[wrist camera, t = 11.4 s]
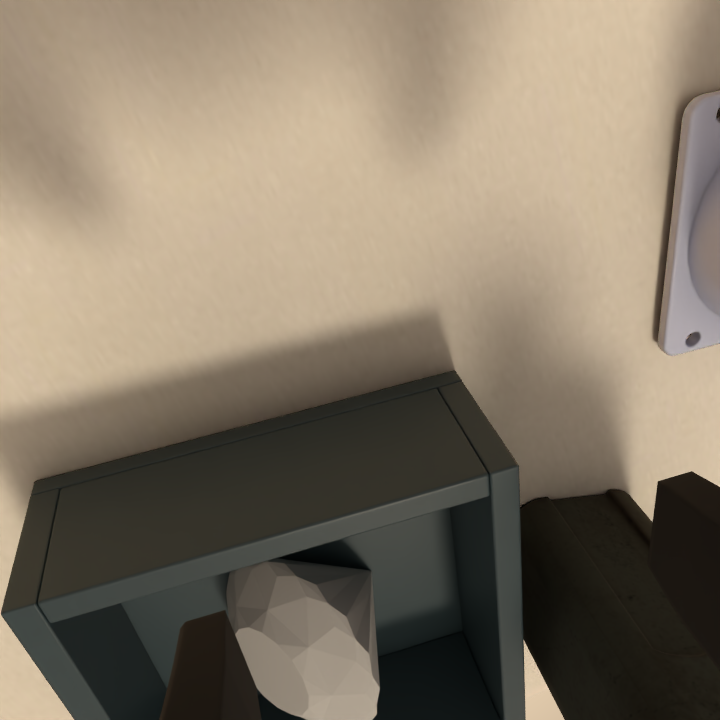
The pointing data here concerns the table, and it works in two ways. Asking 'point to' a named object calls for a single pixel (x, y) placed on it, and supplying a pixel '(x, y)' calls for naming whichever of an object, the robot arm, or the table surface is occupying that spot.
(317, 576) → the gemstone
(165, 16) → the table surface
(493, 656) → the bin
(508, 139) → the table surface
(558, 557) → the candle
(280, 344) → the table surface
